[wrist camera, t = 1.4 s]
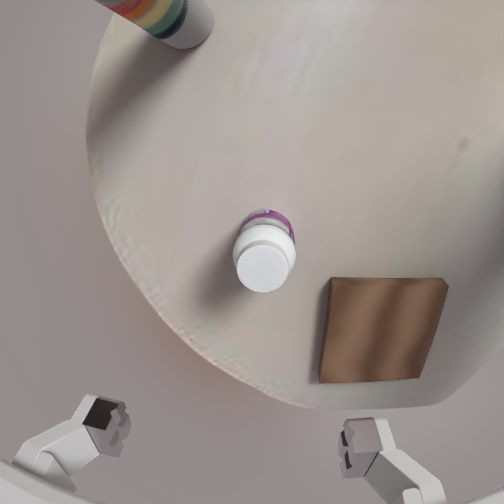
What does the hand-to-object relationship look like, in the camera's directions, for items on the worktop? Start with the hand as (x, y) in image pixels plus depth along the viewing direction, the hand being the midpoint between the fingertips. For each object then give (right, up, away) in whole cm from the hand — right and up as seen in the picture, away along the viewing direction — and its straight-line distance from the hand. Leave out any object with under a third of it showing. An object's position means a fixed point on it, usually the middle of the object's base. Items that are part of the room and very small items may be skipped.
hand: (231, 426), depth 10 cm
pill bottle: (+2, +8, +23) cm, 25 cm away
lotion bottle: (-6, +29, +16) cm, 34 cm away
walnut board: (+16, -3, +26) cm, 31 cm away
